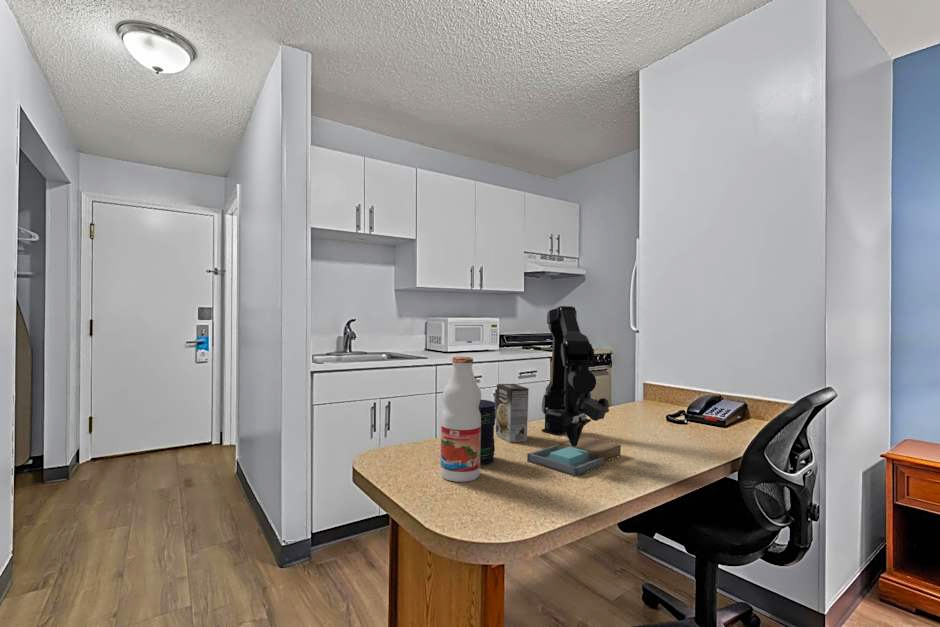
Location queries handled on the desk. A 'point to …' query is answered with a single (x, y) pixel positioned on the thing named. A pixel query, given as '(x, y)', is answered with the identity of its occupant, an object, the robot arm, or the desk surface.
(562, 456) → the teal sponge
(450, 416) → the fruit juice
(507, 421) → the coffee box
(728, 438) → the desk surface
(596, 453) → the deck
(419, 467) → the desk surface
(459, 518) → the desk surface
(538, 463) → the tray
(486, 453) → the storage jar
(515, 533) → the desk surface
